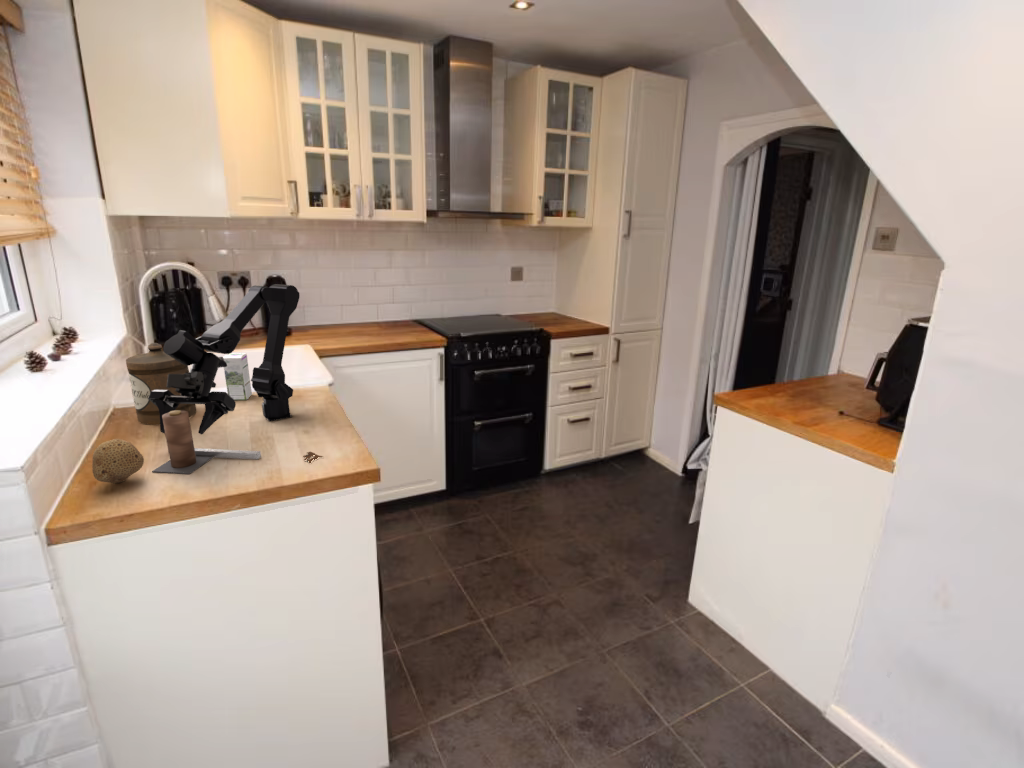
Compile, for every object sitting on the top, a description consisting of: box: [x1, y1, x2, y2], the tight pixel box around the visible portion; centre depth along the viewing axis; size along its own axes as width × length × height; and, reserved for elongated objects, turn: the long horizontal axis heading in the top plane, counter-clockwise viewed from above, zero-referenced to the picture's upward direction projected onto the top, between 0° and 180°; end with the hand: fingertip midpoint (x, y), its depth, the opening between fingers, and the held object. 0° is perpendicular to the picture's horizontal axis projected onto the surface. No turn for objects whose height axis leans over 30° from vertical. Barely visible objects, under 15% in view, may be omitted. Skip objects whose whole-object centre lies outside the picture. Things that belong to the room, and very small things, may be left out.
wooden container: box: [125, 342, 197, 426], centre depth 155 cm, size 15×15×22 cm
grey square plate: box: [151, 456, 214, 475], centre depth 128 cm, size 9×9×1 cm
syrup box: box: [222, 352, 253, 401], centre depth 173 cm, size 6×6×14 cm
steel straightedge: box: [194, 447, 262, 460], centre depth 132 cm, size 18×2×2 cm, turn 86°
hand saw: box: [302, 451, 324, 464], centre depth 137 cm, size 24×5×1 cm, turn 54°
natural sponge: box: [91, 438, 145, 484], centre depth 118 cm, size 9×9×10 cm
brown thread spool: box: [162, 410, 196, 468], centre depth 126 cm, size 5×5×13 cm
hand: (181, 433), depth 126 cm, fingers open, 9 cm apart
